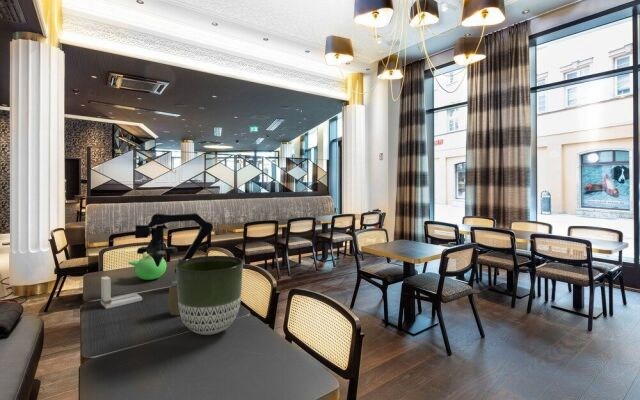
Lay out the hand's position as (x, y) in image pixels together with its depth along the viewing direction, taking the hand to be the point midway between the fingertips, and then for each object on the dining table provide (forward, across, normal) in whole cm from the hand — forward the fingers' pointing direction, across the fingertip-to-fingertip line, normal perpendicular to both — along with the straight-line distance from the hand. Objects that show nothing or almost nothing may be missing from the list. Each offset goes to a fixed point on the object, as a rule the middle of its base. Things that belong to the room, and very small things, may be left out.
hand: (157, 266), depth 170 cm
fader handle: (+12, -14, -21) cm, 28 cm away
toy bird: (+13, -14, +21) cm, 28 cm away
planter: (+13, +41, -47) cm, 64 cm away
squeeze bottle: (+13, +22, -30) cm, 39 cm away
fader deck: (+13, -10, -16) cm, 23 cm away
